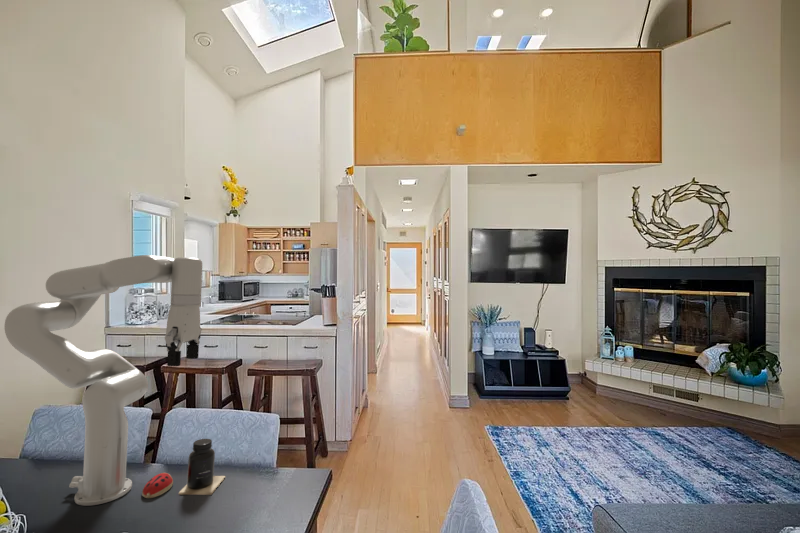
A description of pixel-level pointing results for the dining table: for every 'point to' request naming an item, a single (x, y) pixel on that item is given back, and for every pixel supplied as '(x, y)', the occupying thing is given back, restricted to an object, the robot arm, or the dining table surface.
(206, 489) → the cork coaster
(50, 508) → the dining table surface
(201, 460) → the supplement bottle
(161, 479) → the ladybug figurine
